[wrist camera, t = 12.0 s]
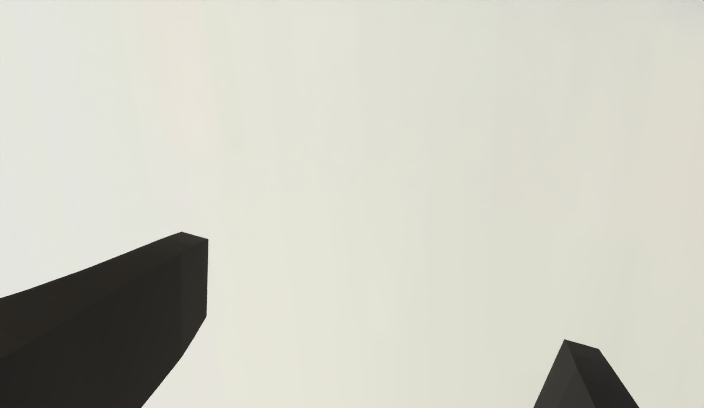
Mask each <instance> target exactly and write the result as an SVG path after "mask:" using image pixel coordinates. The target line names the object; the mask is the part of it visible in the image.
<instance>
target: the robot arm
mask: <svg viewBox="0 0 704 408" xmlns="http://www.w3.org/2000/svg"><path fill="white" fill-rule="evenodd" d="M207 274H208V239H205V238H202V237H198V236H195V235H191V234H188V233H184V232H180V233H177V234H174V235H171V236H168V237H165V238H163V239H160V240H157V241H155V242H152V243H150V244H147V245H145V246H142V247H140V248H137V249H135V250H132V251H130V252H127V253H125V254H122V255H120V256H117V257H115V258H112V259H110V260H107V261H105V262H102V263H100V264H97V265H95V266H92V267H89V268H87V269H84V270H82V271H79V272H76V273H73V274H70V275H68V276H65V277H62V278H59V279H56V280H53V281H51V282H48V283H45V284H42V285H39V286H37V287H34V288H31V289H28V290H25V291H22V292H19V293H16V294H13V295H9V296H6V297H3V298H0V408H141V407H142V406H143V405H144V404H145V402H146V401H147V400H148V399H149V397H150V396H151V395H152V394H153V392H154V391H155V390H156V389H157V388H158V386H159V385H160V384H161V382H162V381H163V380H164V379H165V377H166V376H167V375H168V374H169V372H170V371H171V370H172V369H173V367H174V366H175V365H176V364H177V362H178V361H179V360H180V358H181V357H182V356H183V354H184V353H185V351H186V349H187V348H188V346H189V345H190V343H191V341H192V340H193V338H194V337H195V335H196V333H197V332H198V330H199V328H200V326H201V325H202V323H203V321H204V320H205V318H206V315H207ZM534 408H639V407H638V405H637V404H636V402H635V401H634V399H633V398H632V396H631V395H630V394H629V392H628V391H627V389H626V388H625V386H624V385H623V383H622V382H621V380H620V379H619V377H618V376H617V375H616V373H615V372H614V370H613V369H612V367H611V366H610V364H609V363H608V361H607V360H606V359H605V357H604V356H603V354H602V353H601V352H600V350H599V349H597V348H593V347H590V346H586V345H583V344H579V343H576V342H572V341H568V340H565V339H564V341H563V344H562V346H561V348H560V350H559V352H558V355H557V357H556V359H555V361H554V363H553V366H552V368H551V370H550V372H549V375H548V377H547V379H546V381H545V383H544V386H543V388H542V390H541V392H540V395H539V397H538V399H537V401H536V403H535V406H534Z"/></svg>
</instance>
